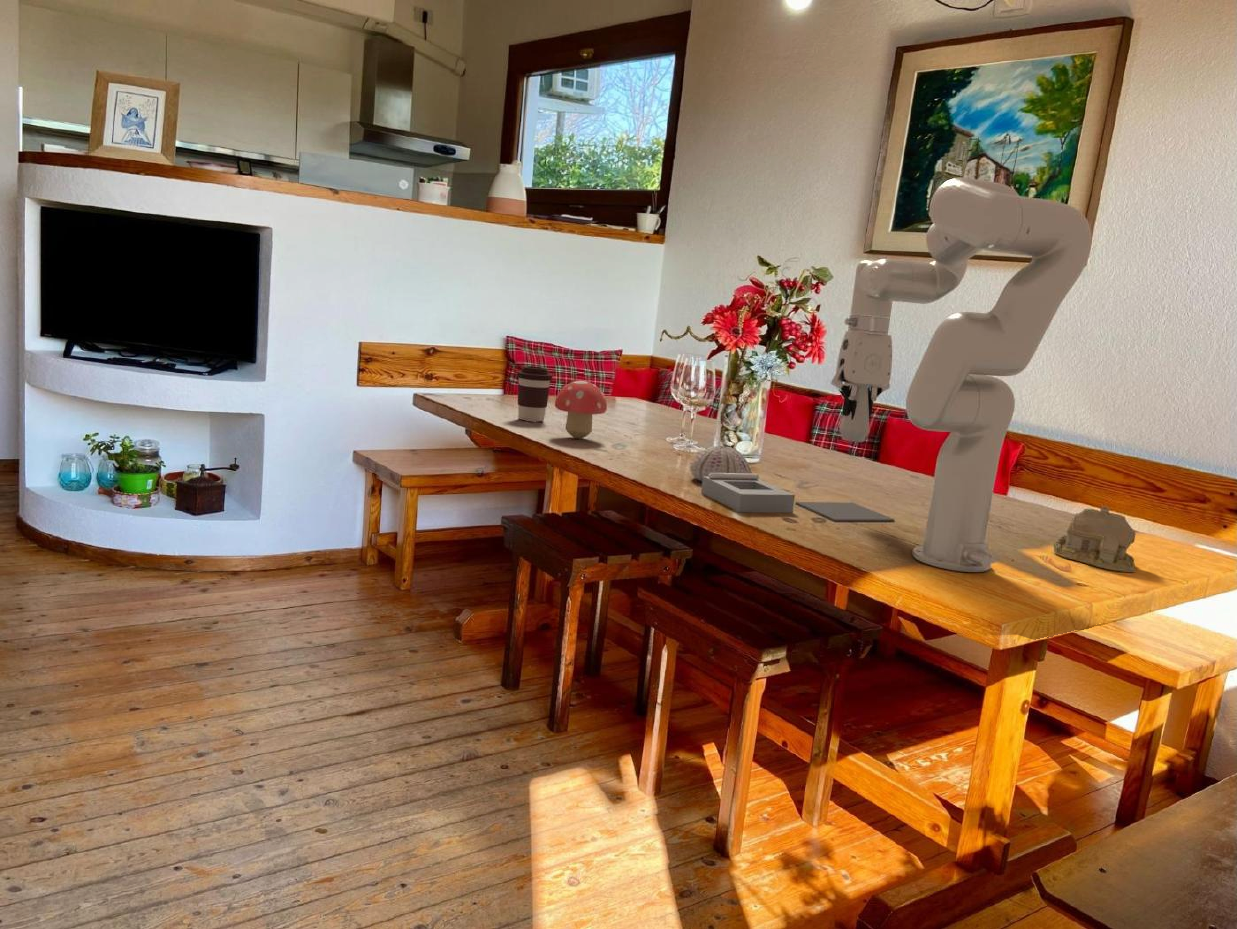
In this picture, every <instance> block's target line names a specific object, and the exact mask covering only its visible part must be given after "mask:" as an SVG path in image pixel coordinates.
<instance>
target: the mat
mask: <svg viewBox="0 0 1237 929" xmlns="http://www.w3.org/2000/svg"><path fill="white" fill-rule="evenodd" d="M794 505H797V506H798V507H799V506H800V507H802V508H803V509H806V510H808V511H810V512H812V513H815V514H816V515H819V516H821V517H824V518H826V519H828V520H830V521H832V522H895V521H896V520H895V518H892V517H890V516H887V515H885V514H882V513H879V512H878V511H875V510H872V509H870V508H868V507H865V506H862V505H860V504H857V503H855V502H840V501H839V502H833V501H832V502H831V501H830V502H828V501H827V502H821V501H819V502H818V501H817V502H815V501H812V502H811V501H795V502H794Z"/></svg>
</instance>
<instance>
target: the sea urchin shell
mask: <svg viewBox="0 0 1237 929" xmlns="http://www.w3.org/2000/svg"><path fill="white" fill-rule="evenodd" d="M689 468H690V472H691V475H692V477H693V478H694V479H697V480H699V481H700V482H702V481H703V476H709V473H748V474H753V472H752V468H751V466H750V464H749V462H748V461H747V459H746V458H745V456H743V455H742V453H741V452H740V451H739V450H738V449H735V448H732V447H729V446H724V445H713V446H709V447H708V448H705V449H704V450H701V452H698V454H697V455H695V458H693V460H692V462H691V463H690V466H689Z"/></svg>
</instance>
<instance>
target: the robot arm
mask: <svg viewBox="0 0 1237 929" xmlns="http://www.w3.org/2000/svg"><path fill="white" fill-rule="evenodd" d="M929 216H930V220H931V222H932V224H931V225H930V227H929V228H928V229H927V232H926V236H925V243H926V246H927V249H928V253H929V254H930V256H931V257H932V258H933V259H934V260H933V261H932V262H929V263H928V262H921V261H914V260H906V259H903V260H902V259H895V258H882V259H878V260H871V259H870V260H867V259H866V260H862V261H860V262H859V263H858V264H857V266H856V270H855V277H854V278H855V279H854V284H853V293H852V294H853V295H852V298H851V300H852V301H851V310H850V315H849V317H847V318H845V320H844V324H845V325H846V326H848V331H845V333H844V335H843V338H842V342H841V345H840V349H839V353H838V358H837V363H836V371H835V374H834V377H832V380H831V381H830V384H831V385H832V386H833V387H834V388H835V389H837V390H838V392H839V393H840V394H841V398H842V399H843V406H842V418H843V415H844V416H848V415H849V414H850V412H852V415H851V419H852V420H853V418H854V415H855V410H856V406H857V401H856V400H854V399H855V396H856V391H857V387H858V385H870V386H871V387H870V388H868V405H869V422H870V421H871V416H872V412H873V406H874V402H876V401H877V398H878V397H879V396H880V395H881V394H882V393H884V392H886V391H887V390H889V389H890V388H891V385H890V382H891V381H890V380H891V374H892V367H893V366H892V365H893V341H892V340H893V339H892V335H889V329H890V321H891V314H892V307H893V302H898V303H899V302H901V303H911V304H921V305H924V304H925V305H927V304H931V303H934V302H937V301H938V300H941V299H942V298H943V297H945V296H947V295H948V294H949V293H951V292H953V291H954V290H955V289H957V287H958V286H959V285H960V284H961V283H962V280H963V279H964V277H965V274H966V272H967V268H968V260H969V259H971V258H973V257H974V256H975V255H977V254H978V253H979V252H981V251H983V250H984V251H988V252H993V253H1002V254H1010V255H1015V256H1016V255H1017V256H1027V257H1031V261H1030V262H1029V263H1028V264H1026V265H1025V266H1023V267H1022V268H1020V269H1019V270H1018V271H1017V272H1016V273H1015V274H1013V276H1012V277H1011V278H1010V279H1009V280H1008V281H1007V283H1006V284H1005V285H1004V287H1003V289H1002V291H1001V292H1000V295H999V297H998V300H997V301H996V303H995V305H994V306H993V308H992V309H991V310H990V311H989V312H986V313H983V312H974V311H970V312H969V311H960V312H957V313H954V314H952V315H950V316H948V317H946V318H945V319H944V320H943V321H941V323H940V324H939V325H938V327H937V328H936V330H935V332H934V333H933V335H932V337H931V338H930V341H929V343H928V345H927V347H926V350H925V352H924V354H923V357H922V359H921V360H920V362H919V365H918V367H917V370H916V371H915V374H914V376H913V379H912V381H911V383H910V386H909V388H908V391H907V395H906V399H905V411H906V414H907V415H906V416H907V418H908V419H909V421H910V423H912V425H914V426H915V427H916V428H919V429H921V430H926V431H932V432H946V433H947V432H949V435H948V436H947V438H946V439H945V440H944V442H943V443H942V446H941V447H940V449H939V452H938V455H937V458H936V464H935V470H934V475H933V476H934V477H933V484H932V489H931V495H930V501H929V502H930V503H929V509H928V514H927V521H926V527H925V533H924V539H923V540H924V541H923V545H918V546H915V547H913V549H912V557H914V559H915V560H917V561H919V562H921V563H923V564H926V565H929V566H932V567H936V568H940V569H945V570H948V571H949V570H950V571H954V572H955V571H956V572H964V573H965V572H966V573H982V572H987V571H989V570H990V569H991V567H992V564H995V563H996V562H997V556H996V555H995V554H992V553H990V552H988V550H989V543H988V542H985V541H986V535H987V529H988V523H989V520H990V519H989V517H990V510H991V506H992V499H993V495H994V488H995V482H996V476H997V472H998V468H999V467H998V466H999V462H1000V461H999V460H1000V456H1001V452H1002V448H1003V443H1004V441H1005V439H1006V438H1005V437H1006V434H1007V432H1008V429H1009V426H1010V424H1011V422H1012V419H1013V416H1014V412H1015V406H1016V403H1015V402H1016V401H1015V396H1014V392H1013V391H1012V389H1011V387H1010V386H1009V385H1008V383H1006V382H1005V381H1004V380H1002V379H1001V378H998V377H1012V376H1016V375H1019V374H1020V373H1022V372H1023V371H1024V370H1025V369H1026V368H1027V366H1028V365H1029V364H1030V362H1031V360H1032V359H1033V357H1034V356H1035V354H1036V351H1037V350H1038V348H1039V346H1040V344H1041V342H1042V340H1043V338H1044V336H1045V334H1046V333H1047V331H1048V329H1049V327H1050V325H1051V324H1052V322H1053V319H1054V316H1056V313H1057V311H1058V310H1059V307H1060V306H1061V304H1062V302H1063V301H1064V300H1065V298H1066V296H1067V295H1068V294H1069V292H1070V291H1071V289H1072V288H1073V286H1074V285H1075V284H1076V282H1077V281H1078V280H1079V278H1080V276H1081V275H1082V273H1083V270H1084V269H1085V267H1086V265H1087V263H1088V260H1089V257H1090V255H1091V250H1092V230H1091V226H1090V223H1089V221H1088V219H1087V217H1086V216H1085V214H1084V213H1083V212H1081V211H1080V210H1079V209H1078V208H1076V207H1074V206H1072V205H1069V204H1066V203H1065V202H1064V203H1063V202H1060V201H1056V200H1050V199H1044V198H1039V197H1038V198H1035V197H1029V196H1022V195H1019V193H1018V192H1017V191H1016V190H1015V189H1013V188H1012V187H1010V186H1009V185H1006V184H1004V183H1000V182H995V181H990V180H989V181H988V180H982V179H976V178H970V177H960V176H959V177H954V178H951V179H948V180H946V181H945V182H944V183H942V184H941V185H940V186H939V187H938V188H937V189H936V191H934V194H933V195H932V198H931V201H930V204H929ZM842 418H841V419H842Z"/></svg>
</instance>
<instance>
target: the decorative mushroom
mask: <svg viewBox="0 0 1237 929" xmlns="http://www.w3.org/2000/svg"><path fill="white" fill-rule="evenodd" d="M554 407H555V408H556V409H557V410H558V411H562V412H566V413H567V414H566V415H567V417H566V423H565V431H567V433H568V434H569V435H570V436H571V437H572V438H574V439H577V438H578V440H579V439H584V438H585V437H588V436H589V435H590V434H591V433H592V431H593V415H601V414H604V413H606V412H607V408H608V405H607V400H606V396H605V395H604V392H603V391H602V390H601V389H600V388H599V387H598V386H597V385H596V384H594V383H592V382H590V381H586V380H575V381H572V382H569V383H567V384H566V385H565V386H563V387H562V388H561V390H560V391H559V392H558V394H557V395H556V398H555V401H554Z"/></svg>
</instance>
